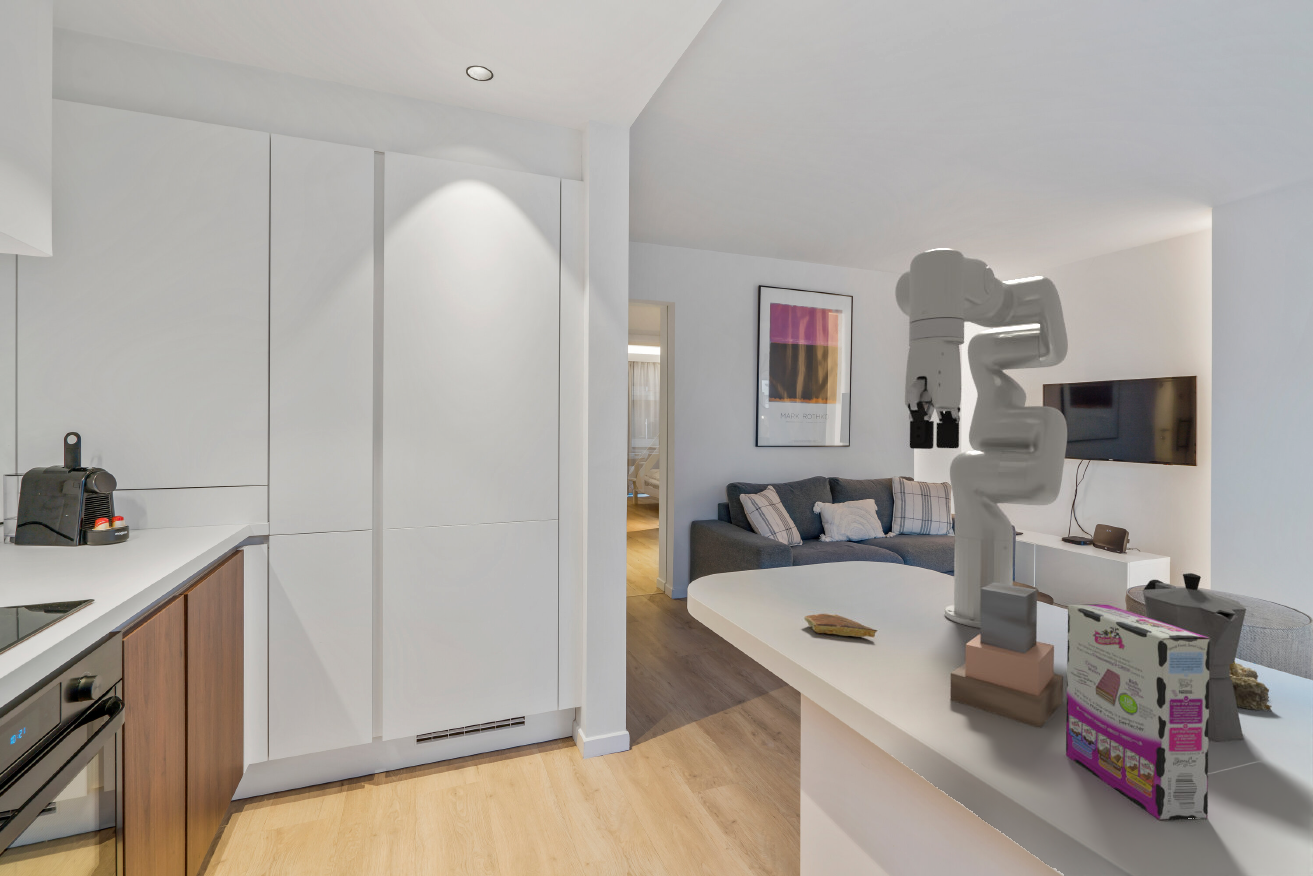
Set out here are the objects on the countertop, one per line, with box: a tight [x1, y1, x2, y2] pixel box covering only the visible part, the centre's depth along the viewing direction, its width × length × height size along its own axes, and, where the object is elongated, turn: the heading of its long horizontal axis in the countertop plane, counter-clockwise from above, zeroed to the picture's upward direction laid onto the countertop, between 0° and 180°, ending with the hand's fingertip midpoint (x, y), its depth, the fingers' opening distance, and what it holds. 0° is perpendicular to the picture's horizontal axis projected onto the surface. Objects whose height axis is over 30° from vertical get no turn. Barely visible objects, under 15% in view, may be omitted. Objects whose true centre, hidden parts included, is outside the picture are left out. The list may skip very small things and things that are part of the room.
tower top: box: [964, 633, 1055, 695], centre depth 75 cm, size 8×8×4 cm
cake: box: [1229, 661, 1272, 711], centre depth 78 cm, size 10×10×5 cm
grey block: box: [979, 582, 1038, 654], centre depth 76 cm, size 5×5×7 cm
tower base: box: [949, 663, 1064, 729], centre depth 76 cm, size 10×10×4 cm
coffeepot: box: [1142, 572, 1247, 743], centre depth 71 cm, size 15×9×18 cm, turn 167°
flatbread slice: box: [804, 613, 878, 638], centre depth 101 cm, size 11×8×2 cm
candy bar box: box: [1065, 603, 1210, 822], centre depth 58 cm, size 11×5×16 cm, turn 5°
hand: (934, 448), depth 89 cm, fingers open, 9 cm apart
